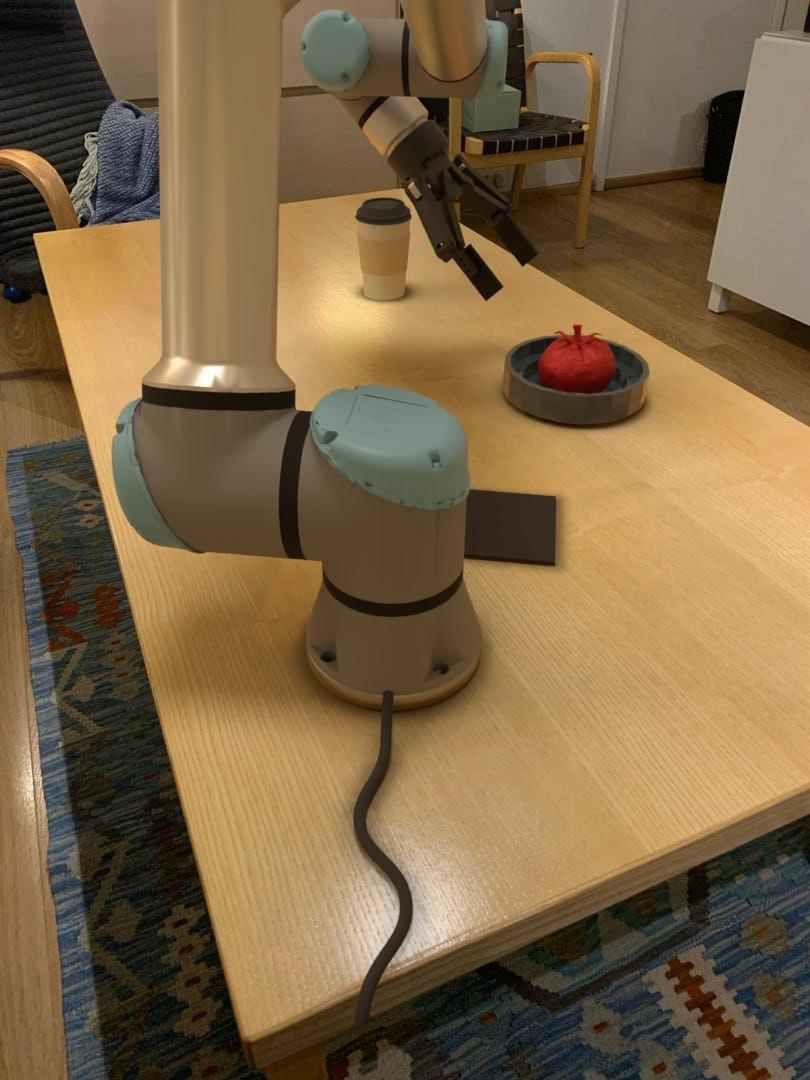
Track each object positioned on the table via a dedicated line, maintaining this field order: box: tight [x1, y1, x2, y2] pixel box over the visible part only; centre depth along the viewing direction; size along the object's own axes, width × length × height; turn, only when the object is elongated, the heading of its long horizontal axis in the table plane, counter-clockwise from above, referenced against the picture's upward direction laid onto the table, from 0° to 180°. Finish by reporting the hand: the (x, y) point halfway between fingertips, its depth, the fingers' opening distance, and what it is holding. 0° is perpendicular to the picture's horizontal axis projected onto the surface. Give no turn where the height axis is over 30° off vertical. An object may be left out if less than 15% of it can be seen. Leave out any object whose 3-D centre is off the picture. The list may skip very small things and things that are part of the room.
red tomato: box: [538, 323, 616, 394], centre depth 114 cm, size 10×10×9 cm
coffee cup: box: [354, 196, 413, 301], centre depth 142 cm, size 9×9×15 cm
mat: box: [464, 488, 557, 566], centre depth 92 cm, size 12×12×1 cm
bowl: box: [502, 334, 651, 425], centre depth 116 cm, size 19×19×4 cm
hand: (513, 276), depth 112 cm, fingers open, 13 cm apart
